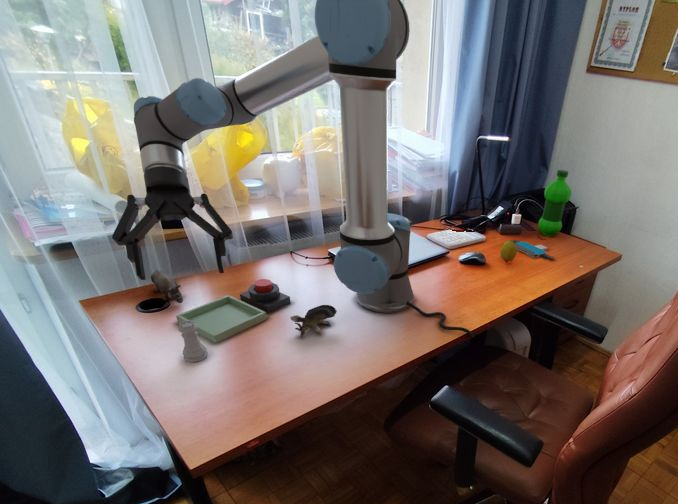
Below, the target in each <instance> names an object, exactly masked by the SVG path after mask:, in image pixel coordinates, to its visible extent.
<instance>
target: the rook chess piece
mask: <svg viewBox="0 0 678 504" xmlns="http://www.w3.org/2000/svg"><path fill="white" fill-rule="evenodd" d="M182 322H183V324H182V323H178V324H179V325H178V329H177V330H178V331H179V332H180V333H181V337H182V338H183V343H184V346H183V350H182V355H183V359H184V360H185V361H187V362H190V363H198V362H201V361H204V360H205V359H206V358H207V356H208V355H209V351H208V349H207V347H206V346H205V345H204V343H202V342H201V340H200V338H199V336H198V335H199V334H198V332H197V331H196V329H197V325H196V324H194V322H193V321H191V320H188V322H185V321H182Z"/></svg>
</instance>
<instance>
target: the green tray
mask: <svg viewBox="0 0 678 504" xmlns="http://www.w3.org/2000/svg"><path fill="white" fill-rule="evenodd" d="M175 317H176V322H177V323H178V324H180V323H182V324H183V322H182V321H185V322H188V320H191V321H193V322H194V324H196V325H197V329H196V331H197V332H198V334H197V335H200V336H201V337H204V338H206V339H208V340H209V341H211V342H213V343H215V344H217V343H220V342H222V341H224V340H226V339H228V338H230V337H232V336H234V335H236V334H238V333H241V332H243V331H245V330H247V329H249V328H252V327H253V326H256V325H258V324H259V323H261V322H263V321H266V320H267V319H268V317H267V313H266V312H264V311H262V310H260V309H258V308H256V307H254V306H251V305H249V304H247V303H245V302H243V301H241V299H238V298H236V297H234V296H233V295H230V294H227V295H224V296H222V297H220V298H217V299H215V300H212V301H209V302H207V303H205V304H201V305H199V306H197V307H195V308H191V309H189V310H186V311H184V312H182V313H179V314H176V315H175Z"/></svg>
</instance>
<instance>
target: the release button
mask: <svg viewBox="0 0 678 504" xmlns="http://www.w3.org/2000/svg"><path fill="white" fill-rule="evenodd" d="M272 283H273V282H272V281H271V279H266V278H259V279H256V280H255V281H254V282H253V284H254V286H255V291H256V292H262V293H263V292H269V291H271V290H272Z"/></svg>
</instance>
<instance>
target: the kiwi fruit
mask: <svg viewBox="0 0 678 504" xmlns="http://www.w3.org/2000/svg"><path fill="white" fill-rule="evenodd" d="M517 252H518V250H517V247H516V245H515V243H514V242H513V240H507V241H505V242H504V243H502V245H501V247H500V253H499V254H500V255H499V256H500V258H501V259H502V260H503V261H504V262H505V263H506V264H508V263H509V262H512V261H513V260H514V259H516V256H517Z"/></svg>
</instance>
